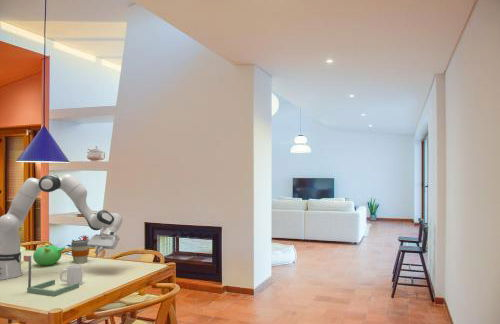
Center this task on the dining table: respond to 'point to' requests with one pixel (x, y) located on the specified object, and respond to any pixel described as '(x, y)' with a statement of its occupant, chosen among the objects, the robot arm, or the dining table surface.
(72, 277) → the cup
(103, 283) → the dining table surface
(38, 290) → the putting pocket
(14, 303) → the dining table surface
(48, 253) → the green teapot
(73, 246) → the reusable coffee cup
